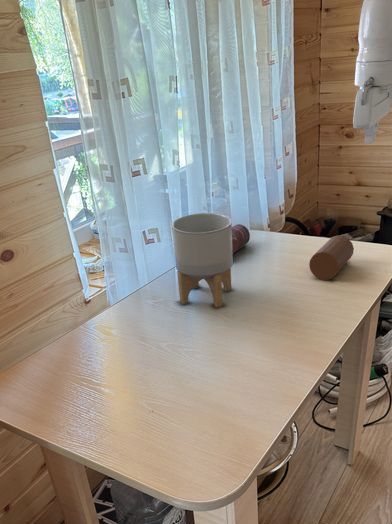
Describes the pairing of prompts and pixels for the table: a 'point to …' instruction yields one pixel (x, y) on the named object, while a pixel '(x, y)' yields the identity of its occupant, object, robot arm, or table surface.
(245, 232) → the can
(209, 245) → the planter
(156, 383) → the table surface
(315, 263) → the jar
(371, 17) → the robot arm
